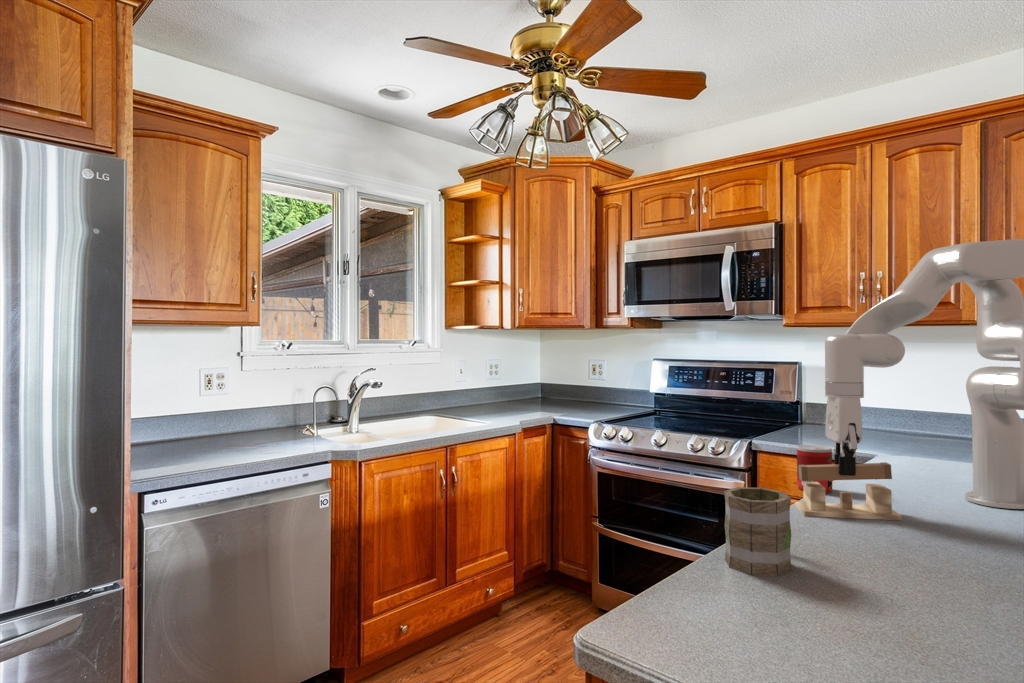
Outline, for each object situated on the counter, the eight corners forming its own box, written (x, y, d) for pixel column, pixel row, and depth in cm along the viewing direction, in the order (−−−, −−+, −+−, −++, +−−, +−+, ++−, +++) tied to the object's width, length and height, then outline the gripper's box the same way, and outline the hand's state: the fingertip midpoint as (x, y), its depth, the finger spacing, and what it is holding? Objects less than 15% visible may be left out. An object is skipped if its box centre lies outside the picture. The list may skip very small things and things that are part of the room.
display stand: (886, 510, 135) (886, 483, 135) (901, 520, 127) (901, 491, 127) (795, 506, 139) (795, 480, 139) (804, 515, 131) (804, 488, 132)
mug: (787, 581, 96) (786, 506, 96) (717, 569, 101) (716, 497, 101) (799, 552, 109) (798, 485, 109) (737, 542, 115) (736, 479, 115)
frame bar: (802, 481, 134) (801, 467, 134) (799, 478, 137) (798, 464, 137) (892, 479, 130) (890, 464, 130) (887, 476, 133) (886, 462, 133)
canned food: (836, 494, 150) (836, 450, 150) (802, 493, 151) (801, 449, 151) (827, 487, 157) (826, 445, 157) (794, 486, 159) (793, 444, 159)
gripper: (815, 387, 142) (816, 465, 142) (837, 392, 126) (837, 480, 126) (850, 388, 141) (851, 467, 140) (876, 393, 125) (877, 482, 125)
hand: (844, 472), depth 133 cm, fingers closed on frame bar, 2 cm apart
